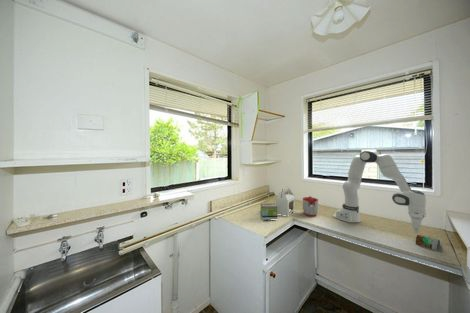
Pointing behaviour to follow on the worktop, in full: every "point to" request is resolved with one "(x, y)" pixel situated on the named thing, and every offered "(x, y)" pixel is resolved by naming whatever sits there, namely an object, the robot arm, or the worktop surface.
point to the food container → (427, 242)
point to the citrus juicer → (310, 206)
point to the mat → (439, 248)
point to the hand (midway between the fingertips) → (416, 231)
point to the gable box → (285, 202)
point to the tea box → (268, 211)
